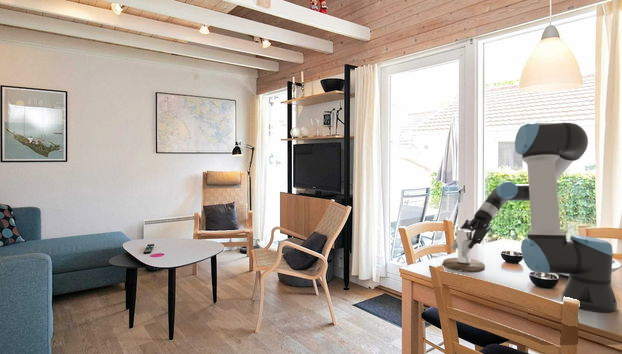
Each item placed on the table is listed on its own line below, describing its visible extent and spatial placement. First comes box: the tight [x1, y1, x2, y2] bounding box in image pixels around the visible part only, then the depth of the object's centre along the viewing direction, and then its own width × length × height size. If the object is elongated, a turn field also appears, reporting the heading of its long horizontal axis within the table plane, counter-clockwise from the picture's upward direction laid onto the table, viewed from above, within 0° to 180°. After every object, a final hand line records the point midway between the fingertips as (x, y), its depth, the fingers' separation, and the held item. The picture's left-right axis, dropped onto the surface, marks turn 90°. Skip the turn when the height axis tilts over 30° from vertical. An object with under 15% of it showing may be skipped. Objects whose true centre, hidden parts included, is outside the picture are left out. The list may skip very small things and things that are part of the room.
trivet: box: [442, 257, 486, 273], centre depth 171 cm, size 18×18×1 cm
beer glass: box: [455, 228, 473, 264], centre depth 170 cm, size 7×7×15 cm
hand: (457, 250), depth 169 cm, fingers closed on beer glass, 6 cm apart
